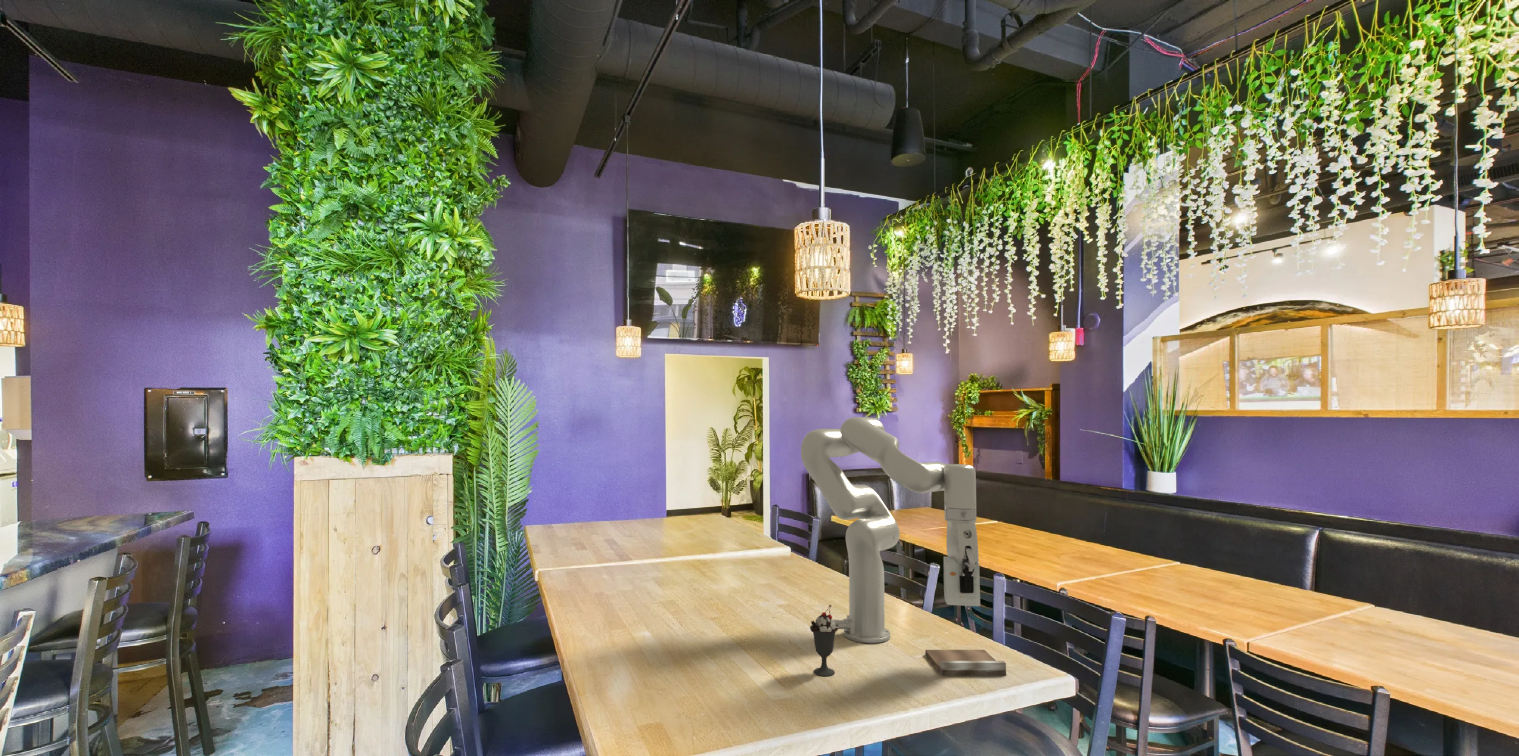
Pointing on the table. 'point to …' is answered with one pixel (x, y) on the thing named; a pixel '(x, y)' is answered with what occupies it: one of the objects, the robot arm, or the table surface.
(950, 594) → the small box
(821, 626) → the sundae
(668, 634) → the table surface
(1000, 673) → the shelf board
